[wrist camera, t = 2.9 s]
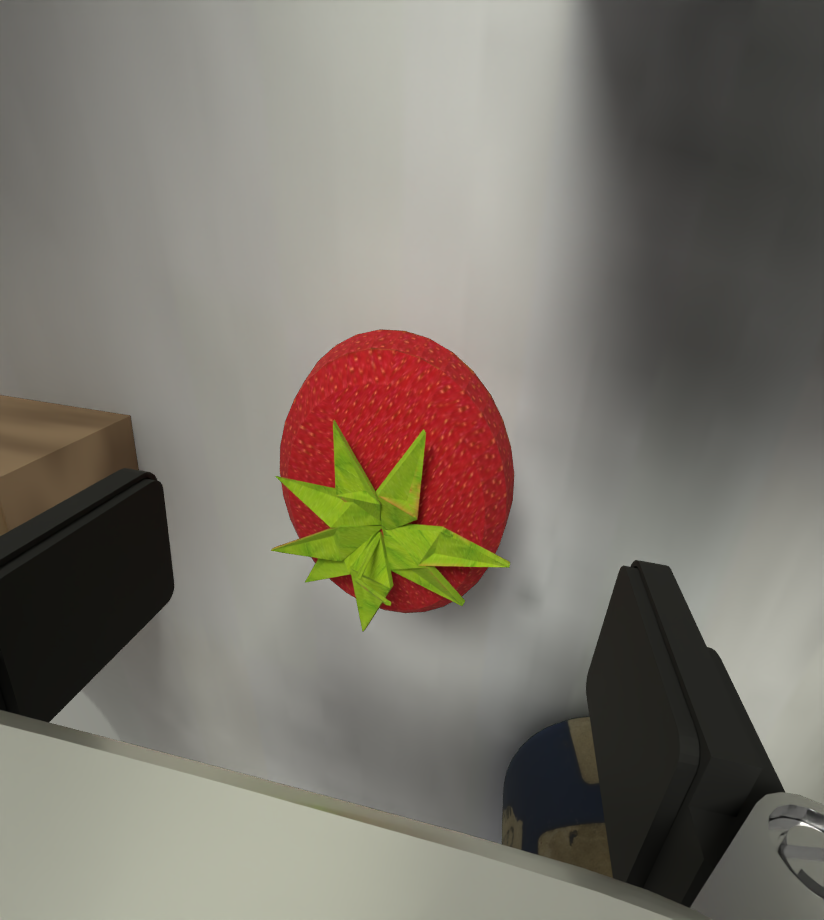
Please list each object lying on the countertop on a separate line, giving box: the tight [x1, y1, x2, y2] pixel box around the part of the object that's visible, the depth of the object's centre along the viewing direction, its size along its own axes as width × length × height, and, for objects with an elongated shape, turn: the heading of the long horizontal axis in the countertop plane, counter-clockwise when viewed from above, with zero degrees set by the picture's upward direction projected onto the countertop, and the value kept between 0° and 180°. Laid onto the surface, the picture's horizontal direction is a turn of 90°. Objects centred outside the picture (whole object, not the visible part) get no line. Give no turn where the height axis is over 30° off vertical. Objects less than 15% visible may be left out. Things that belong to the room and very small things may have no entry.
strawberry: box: [271, 330, 514, 631], centre depth 14 cm, size 6×8×10 cm
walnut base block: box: [0, 395, 139, 532], centre depth 20 cm, size 8×8×6 cm
